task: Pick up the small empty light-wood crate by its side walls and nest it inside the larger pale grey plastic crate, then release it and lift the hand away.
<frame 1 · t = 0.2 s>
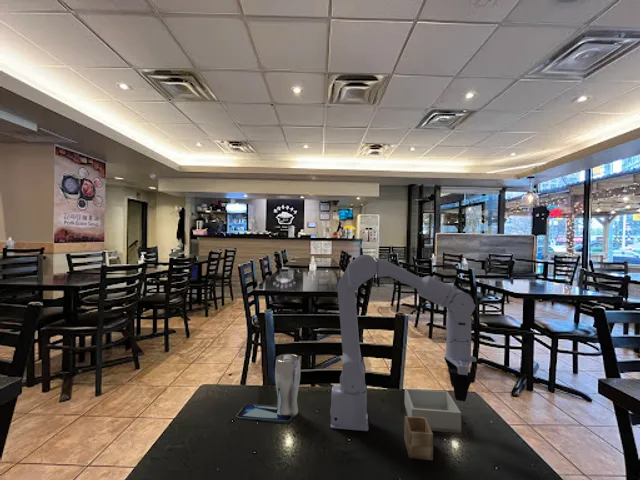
hand: (458, 393, 78), 10 cm above the table, tool pointing down, fingers open, 7 cm apart
beer glass: (287, 413, 86), on the table
storage crate: (430, 418, 85), on the table
smartphone: (266, 416, 86), on the table
wood crate: (417, 449, 72), on the table
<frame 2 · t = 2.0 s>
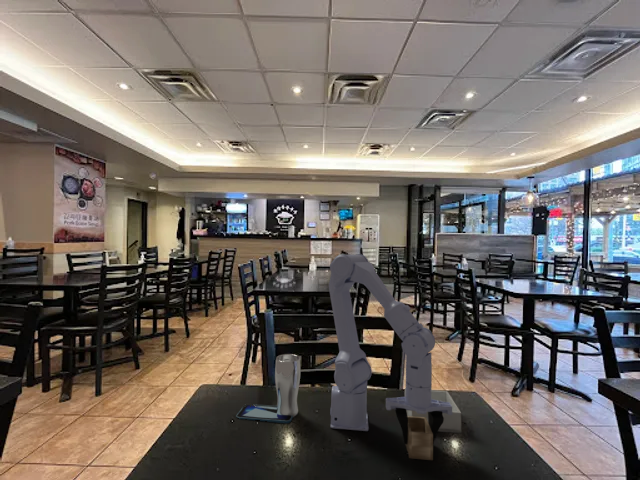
hand: (417, 442, 72), 1 cm above the table, tool pointing down, fingers closed on wood crate, 5 cm apart
wood crate: (417, 449, 72), on the table, touching gripper
everything else where it was.
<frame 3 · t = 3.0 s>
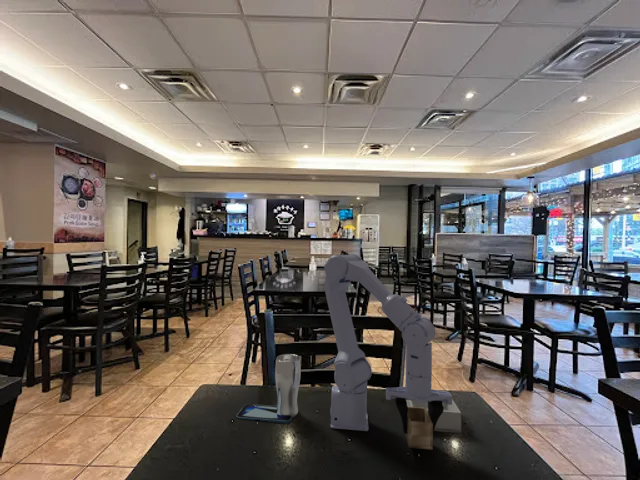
hand: (417, 432, 72), 4 cm above the table, tool pointing down, fingers closed on wood crate, 5 cm apart
wood crate: (417, 438, 72), point 2 cm above the table, touching gripper
everything else where it was.
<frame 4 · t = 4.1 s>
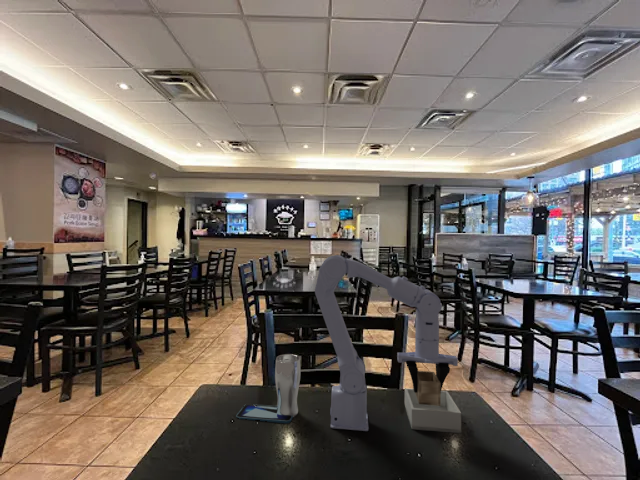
hand: (426, 391, 80), 9 cm above the table, tool pointing down, fingers closed on wood crate, 5 cm apart
wood crate: (426, 398, 79), point 8 cm above the table, touching gripper
everything else where it was.
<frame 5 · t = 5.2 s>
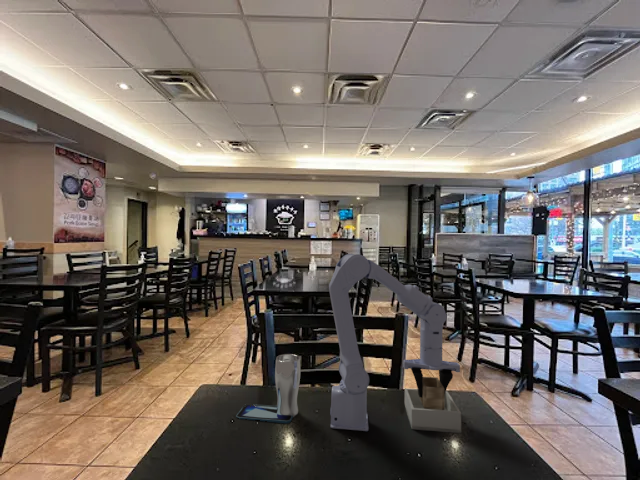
hand: (430, 396, 85), 6 cm above the table, tool pointing down, fingers closed on wood crate, 5 cm apart
wood crate: (431, 402, 85), point 4 cm above the table, touching gripper
everything else where it was.
when the fingers open (4 cm above the table, at t = 6.1 s): wood crate drops 1 cm, resting on storage crate.
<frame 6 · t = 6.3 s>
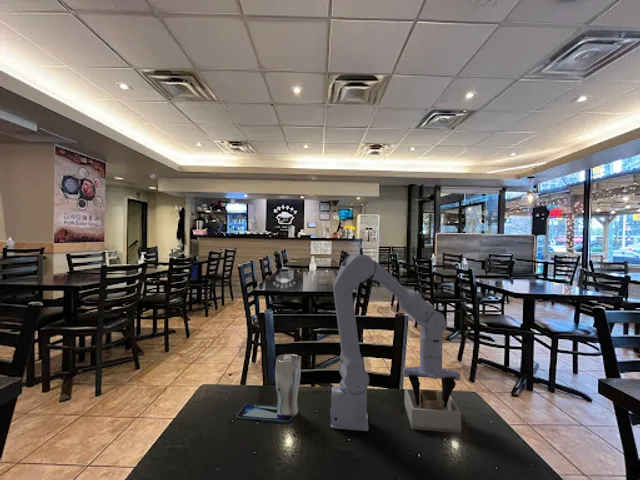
hand: (430, 404, 85), 4 cm above the table, tool pointing down, fingers open, 6 cm apart
wood crate: (430, 415, 84), point 1 cm above the table, touching storage crate
everything else where it was.
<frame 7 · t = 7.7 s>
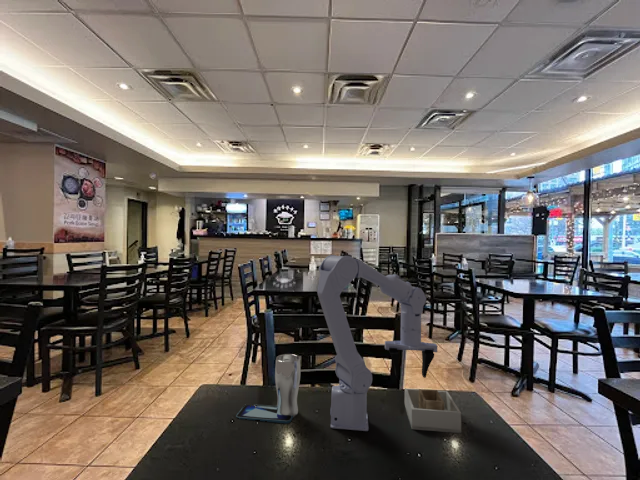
hand: (410, 375, 90), 9 cm above the table, tool pointing down, fingers open, 7 cm apart
nothing on the table moved.
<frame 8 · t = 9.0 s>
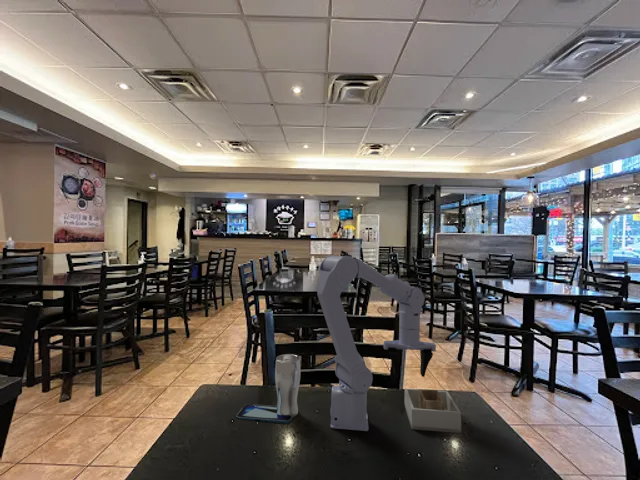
hand: (408, 374, 91), 9 cm above the table, tool pointing down, fingers open, 7 cm apart
nothing on the table moved.
at the end: wood crate 0.3 cm off-centre on the storage crate, point 0.8 cm above the storage crate's base; wood crate tilted 0°; the gripper is holding nothing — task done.
